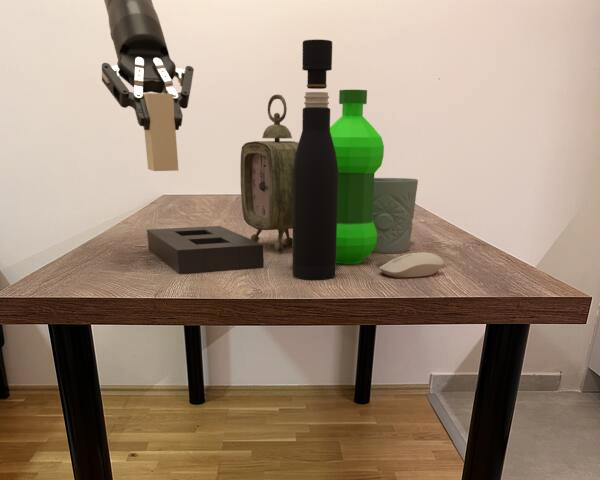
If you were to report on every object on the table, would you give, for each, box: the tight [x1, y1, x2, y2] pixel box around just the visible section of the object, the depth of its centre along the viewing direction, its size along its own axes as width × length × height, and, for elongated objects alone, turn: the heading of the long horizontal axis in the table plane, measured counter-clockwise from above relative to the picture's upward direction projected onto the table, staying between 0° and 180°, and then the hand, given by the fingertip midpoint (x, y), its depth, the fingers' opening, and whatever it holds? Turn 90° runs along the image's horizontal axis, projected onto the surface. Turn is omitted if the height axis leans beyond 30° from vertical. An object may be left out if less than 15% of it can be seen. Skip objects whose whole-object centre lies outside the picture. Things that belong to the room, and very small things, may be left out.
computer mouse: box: [379, 252, 444, 279], centre depth 96 cm, size 6×10×3 cm, turn 111°
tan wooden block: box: [143, 92, 179, 172], centre depth 93 cm, size 4×5×10 cm
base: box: [146, 225, 265, 275], centre depth 107 cm, size 14×23×4 cm, turn 23°
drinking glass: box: [372, 177, 419, 254], centre depth 114 cm, size 10×10×12 cm
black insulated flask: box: [292, 39, 338, 281], centre depth 89 cm, size 6×6×30 cm
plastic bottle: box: [330, 89, 385, 265], centre depth 100 cm, size 10×10×25 cm
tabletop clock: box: [239, 94, 299, 253], centre depth 113 cm, size 14×9×25 cm, turn 27°
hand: (162, 125), depth 91 cm, fingers closed on tan wooden block, 3 cm apart
